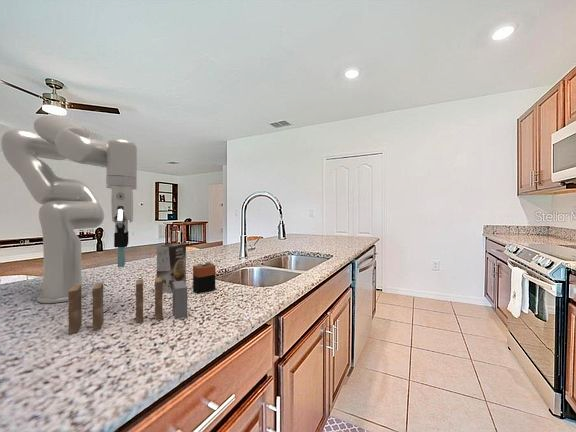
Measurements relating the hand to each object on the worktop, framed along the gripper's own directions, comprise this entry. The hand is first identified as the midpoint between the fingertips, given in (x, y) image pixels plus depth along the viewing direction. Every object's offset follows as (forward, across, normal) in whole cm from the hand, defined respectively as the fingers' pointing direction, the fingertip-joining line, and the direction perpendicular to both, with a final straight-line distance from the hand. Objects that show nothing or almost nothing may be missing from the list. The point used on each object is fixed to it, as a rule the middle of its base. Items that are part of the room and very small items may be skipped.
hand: (121, 245), depth 80 cm
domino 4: (+18, -12, -5) cm, 23 cm away
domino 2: (+18, -12, +4) cm, 23 cm away
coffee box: (+19, +14, -15) cm, 28 cm away
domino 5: (+18, -12, -9) cm, 24 cm away
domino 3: (+6, 0, 0) cm, 6 cm away
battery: (+19, +6, -25) cm, 32 cm away
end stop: (+18, -12, -15) cm, 26 cm away
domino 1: (+18, -12, +9) cm, 24 cm away
